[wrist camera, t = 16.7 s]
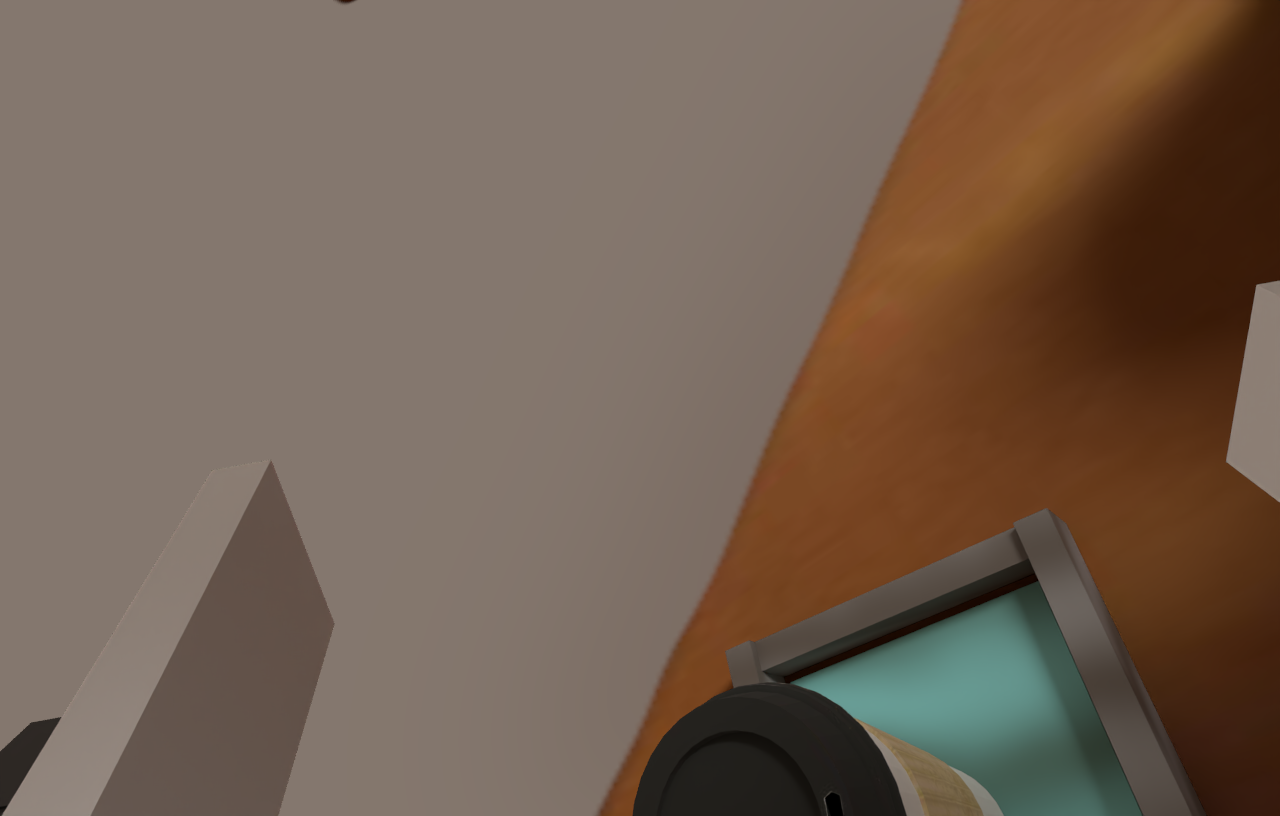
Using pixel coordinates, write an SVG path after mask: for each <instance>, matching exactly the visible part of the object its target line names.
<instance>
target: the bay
mask: <svg viewBox="0 0 1280 816" xmlns="http://www.w3.org/2000/svg"><path fill="white" fill-rule="evenodd" d="M1013 524H1014V526H1015V527H1014V528H1012V529H1009V530H1007V531H1005V532H1003V533H1000V534H998V535H996V536H994V537H991V538H989V539H987V540H985V541H982V542H980V543H978V544H976V545H973V546H971V547H969V548H966V549H964V550H962V551H960V552H957V553H955V554H953V555H951V556H948V557H946V558H944V559H942V560H939V561H937V562H935V563H933V564H930V565H928V566H926V567H924V568H921V569H919V570H917V571H915V572H912V573H910V574H908V575H905V576H903V577H901V578H899V579H896V580H894V581H892V582H890V583H887V584H885V585H883V586H881V587H878V588H876V589H874V590H872V591H869V592H867V593H865V594H863V595H860V596H858V597H856V598H854V599H851V600H849V601H847V602H844V603H842V604H840V605H838V606H835V607H833V608H831V609H829V610H826V611H824V612H822V613H820V614H817V615H815V616H813V617H811V618H808V619H806V620H804V621H802V622H799V623H797V624H795V625H793V626H790V627H788V628H786V629H783V630H781V631H779V632H777V633H774V634H772V635H770V636H768V637H765V638H763V639H761V640H759V641H756V642H753V641H747V642H745V643H742V644H740V645H738V646H736V647H733V648H731V649H729V650H727V651H725V652H726V656H727V661H728V665H729V670H730V674H731V678H732V683H733V687H734V688H736V687H738V686H744V685H751V684H758V683H765V682H775V683H785V680H784V677H785V676H788V675H790V674H793V673H795V672H797V671H800V670H802V669H805V668H807V667H810V666H812V665H814V664H817V663H819V662H822V661H824V660H826V659H829V658H831V657H834V656H836V655H839V654H841V653H843V652H846V651H848V650H851V649H853V648H855V647H858V646H860V645H863V644H865V643H868V642H870V641H872V640H875V639H877V638H880V637H882V636H884V635H887V634H889V633H892V632H894V631H897V630H899V629H901V628H904V627H906V626H909V625H911V624H914V623H916V622H918V621H921V620H923V619H926V618H928V617H930V616H933V615H935V614H938V613H940V612H943V611H945V610H947V609H950V608H952V607H955V606H957V605H959V604H962V603H964V602H967V601H969V600H972V599H974V598H976V597H979V596H981V595H984V594H986V593H988V592H991V591H993V590H996V589H998V588H1001V587H1003V586H1005V585H1008V584H1010V583H1013V582H1015V581H1017V580H1020V579H1022V578H1025V577H1027V576H1030V575H1032V574H1034V573H1036V576H1037V578H1038V580H1039V581H1037V582H1035V583H1032V584H1030V585H1027V586H1025V587H1022V588H1020V589H1017V590H1015V591H1013V592H1010V593H1008V594H1005V595H1003V596H1000V597H998V598H995V599H993V600H991V601H988V602H986V603H983V604H981V605H978V606H976V607H973V608H971V609H969V610H966V611H964V612H961V613H959V614H956V615H954V616H951V617H949V618H947V619H944V620H942V621H939V622H937V623H934V624H932V625H929V626H927V627H925V628H922V629H920V630H917V631H915V632H912V633H910V634H907V635H905V636H903V637H900V638H898V639H895V640H893V641H890V642H888V643H885V644H883V645H881V646H878V647H876V648H873V649H871V650H868V651H866V652H863V653H861V654H858V655H856V656H854V657H851V658H849V659H846V660H844V661H841V662H839V663H836V664H834V665H832V666H829V667H827V668H824V669H822V670H819V671H817V672H814V673H812V674H810V675H807V676H805V677H802V678H800V679H797V680H795V681H792V682H790V683H791V684H795V685H798V686H801V687H804V688H807V689H810V690H813V691H816V692H818V693H820V694H822V695H823V696H825V697H827V698H828V699H830V700H832V701H833V702H835V703H836V704H838V705H840V706H841V707H842V708H844V709H845V710H846V711H847V712H848V713H849V714H850V715H851V716H852V717H854V718H856V719H858V720H860V721H863V722H865V723H867V724H869V725H871V726H873V727H875V728H877V729H879V730H881V731H884V732H886V733H888V734H890V735H892V736H894V737H896V738H898V739H900V740H903V741H905V742H907V743H909V744H911V745H913V746H915V747H917V748H919V749H922V750H924V751H926V752H928V753H930V754H931V755H933V756H935V757H936V758H938V759H940V760H941V761H943V762H945V763H946V764H947V765H948V766H951V767H953V768H955V769H957V770H959V771H962V772H963V773H965V774H967V775H968V776H970V777H972V778H973V779H975V780H976V781H977V782H978V783H979V784H980V785H982V786H983V787H984V788H985V789H986V790H987V791H988V792H989V794H990V795H991V796H992V797H993V799H994V800H995V801H996V802H997V804H998V806H999V808H1000V809H1001V811H1002V813H1003V815H1004V816H1207V815H1206V813H1205V811H1204V809H1203V807H1202V805H1201V803H1200V800H1199V798H1198V796H1197V794H1196V792H1195V790H1194V788H1193V786H1192V784H1191V782H1190V780H1189V778H1188V776H1187V773H1186V771H1185V769H1184V767H1183V765H1182V763H1181V761H1180V759H1179V757H1178V755H1177V753H1176V751H1175V749H1174V747H1173V744H1172V742H1171V740H1170V738H1169V736H1168V734H1167V732H1166V730H1165V728H1164V726H1163V724H1162V722H1161V720H1160V717H1159V715H1158V713H1157V711H1156V709H1155V707H1154V705H1153V703H1152V701H1151V699H1150V697H1149V695H1148V693H1147V690H1146V688H1145V686H1144V684H1143V682H1142V680H1141V678H1140V676H1139V674H1138V672H1137V670H1136V668H1135V666H1134V663H1133V661H1132V659H1131V657H1130V655H1129V653H1128V651H1127V649H1126V647H1125V645H1124V643H1123V641H1122V639H1121V637H1120V634H1119V632H1118V630H1117V628H1116V626H1115V624H1114V622H1113V620H1112V618H1111V616H1110V614H1109V612H1108V610H1107V607H1106V605H1105V603H1104V601H1103V599H1102V597H1101V595H1100V593H1099V591H1098V589H1097V587H1096V585H1095V583H1094V580H1093V578H1092V576H1091V574H1090V572H1089V570H1088V568H1087V566H1086V564H1085V562H1084V560H1083V558H1082V556H1081V554H1080V551H1079V549H1078V547H1077V545H1076V543H1075V541H1074V539H1073V537H1072V535H1071V533H1070V531H1069V529H1068V527H1067V524H1066V523H1065V522H1064V521H1062V520H1061V519H1060V518H1059V517H1057V516H1056V515H1055V514H1053V513H1052V512H1051V511H1050V510H1048V509H1047V508H1046V509H1043V510H1041V511H1039V512H1037V513H1034V514H1032V515H1030V516H1028V517H1025V518H1023V519H1021V520H1019V521H1016V522H1014V523H1013Z"/></svg>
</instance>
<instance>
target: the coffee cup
mask: <svg viewBox="0 0 1280 816" xmlns="http://www.w3.org/2000/svg"><path fill="white" fill-rule="evenodd" d="M633 816H1004V815H1003V813H1002V811H1001V809H1000V808H999V806H998V804H997V802H996V801H995V800H994V799H993V797H992V796H991V795H990V794H989V792H988V791H987V790H986V789H985V788H984V787H983V786H982V785H980V784H979V783H978V782H977V781H976V780H975V779H973V778H972V777H970V776H968V775H967V774H965V773H963V772H962V771H959V770H957V769H955V768H953V767H951V766H948V765H947V764H946V763H945V762H943V761H941V760H940V759H938V758H936V757H935V756H933V755H931V754H930V753H928V752H926V751H924V750H922V749H919V748H917V747H915V746H913V745H911V744H909V743H907V742H905V741H903V740H900V739H898V738H896V737H894V736H892V735H890V734H888V733H886V732H884V731H881V730H879V729H877V728H875V727H873V726H871V725H869V724H867V723H865V722H863V721H860V720H858V719H856V718H854V717H852V716H851V715H850V714H849V713H848V712H847V711H846V710H845V709H844V708H842V707H841V706H840V705H838V704H836V703H835V702H833V701H832V700H830V699H828V698H827V697H825V696H823V695H822V694H820V693H818V692H816V691H813V690H810V689H807V688H804V687H801V686H798V685H795V684H787V683H775V682H765V683H758V684H751V685H744V686H738V687H736V688H733V689H731V690H728V691H726V692H723V693H721V694H718V695H716V696H714V697H713V698H711V699H710V700H708V701H707V702H706V703H704V704H703V705H701V706H699V707H697V708H695V709H694V710H693V711H691V712H690V713H688V714H687V715H685V716H684V717H682V718H681V719H680V720H679V721H678V722H677V723H676V724H675V725H674V726H673V727H672V728H671V729H670V730H669V731H668V732H667V733H666V734H665V735H664V737H663V738H662V740H661V741H660V743H659V744H658V746H657V747H656V749H655V750H654V752H653V753H652V755H651V757H650V759H649V761H648V764H647V766H646V768H645V770H644V772H643V775H642V777H641V780H640V784H639V787H638V791H637V795H636V798H635V802H634V809H633Z"/></svg>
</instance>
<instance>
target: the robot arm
mask: <svg viewBox="0 0 1280 816" xmlns="http://www.w3.org/2000/svg"><path fill="white" fill-rule="evenodd" d="M1226 462H1227V463H1228V464H1230V465H1231V466H1232V467H1234V468H1235V469H1236V470H1238V471H1239V472H1240V473H1242V474H1243V475H1244V476H1246V477H1247V478H1248V479H1250V480H1251V481H1252V482H1253V483H1255V484H1256V485H1257V486H1259V487H1260V488H1261V489H1263V490H1264V491H1265V492H1267V493H1268V494H1269V495H1271V496H1272V497H1273V498H1275V499H1276V500H1277V501H1279V502H1280V281H1275V282H1269V283H1263V284H1258V285H1256V290H1255V296H1254V302H1253V308H1252V314H1251V319H1250V325H1249V331H1248V337H1247V343H1246V348H1245V354H1244V360H1243V366H1242V372H1241V378H1240V383H1239V389H1238V395H1237V401H1236V407H1235V413H1234V418H1233V424H1232V430H1231V436H1230V442H1229V447H1228V453H1227V459H1226ZM333 627H334V621H333V618H332V616H331V613H330V611H329V608H328V606H327V603H326V600H325V598H324V595H323V593H322V590H321V587H320V585H319V582H318V580H317V577H316V575H315V572H314V569H313V567H312V564H311V562H310V559H309V557H308V554H307V551H306V549H305V546H304V544H303V541H302V538H301V536H300V533H299V531H298V528H297V525H296V523H295V520H294V518H293V515H292V513H291V510H290V507H289V505H288V502H287V500H286V497H285V494H284V492H283V489H282V487H281V484H280V481H279V479H278V476H277V474H276V471H275V469H274V466H273V463H272V461H271V460H266V461H260V462H255V463H249V464H243V465H238V466H233V467H227V468H221V469H216V470H212V471H211V473H210V474H209V476H208V478H207V479H206V481H205V483H204V484H203V486H202V488H201V489H200V491H199V492H198V494H197V496H196V498H195V499H194V501H193V502H192V504H191V506H190V507H189V509H188V511H187V512H186V514H185V516H184V517H183V519H182V520H181V522H180V524H179V526H178V527H177V529H176V530H175V532H174V534H173V535H172V537H171V538H170V540H169V542H168V544H167V545H166V547H165V549H164V550H163V552H162V553H161V555H160V557H159V558H158V560H157V561H156V563H155V565H154V566H153V568H152V570H151V571H150V573H149V575H148V576H147V578H146V580H145V581H144V583H143V585H142V586H141V588H140V590H139V591H138V593H137V594H136V596H135V598H134V599H133V601H132V603H131V604H130V606H129V608H128V609H127V611H126V612H125V614H124V616H123V617H122V619H121V621H120V622H119V624H118V626H117V627H116V629H115V631H114V632H113V634H112V636H111V637H110V639H109V641H108V642H107V644H106V645H105V647H104V649H103V650H102V652H101V654H100V655H99V657H98V659H97V660H96V662H95V664H94V665H93V667H92V668H91V670H90V672H89V673H88V675H87V677H86V678H85V680H84V682H83V683H82V685H81V687H80V688H79V690H78V691H77V693H76V695H75V696H74V698H73V700H72V701H71V703H70V705H69V706H68V708H67V710H66V711H65V713H64V714H63V716H62V717H60V718H55V719H50V720H43V721H38V722H32V723H30V725H28V726H27V727H26V728H25V729H24V730H23V731H22V732H21V733H20V734H19V735H17V736H16V737H15V738H14V739H13V740H12V741H11V742H10V743H9V744H8V745H7V746H6V747H5V748H4V749H2V750H1V751H0V816H278V814H279V811H280V808H281V804H282V801H283V797H284V794H285V791H286V787H287V784H288V781H289V777H290V774H291V770H292V767H293V763H294V760H295V756H296V753H297V750H298V746H299V743H300V740H301V736H302V733H303V729H304V726H305V723H306V719H307V716H308V712H309V709H310V705H311V702H312V698H313V695H314V692H315V688H316V685H317V682H318V678H319V675H320V671H321V668H322V664H323V661H324V657H325V654H326V651H327V648H328V644H329V641H330V637H331V634H332V630H333Z"/></svg>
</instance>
